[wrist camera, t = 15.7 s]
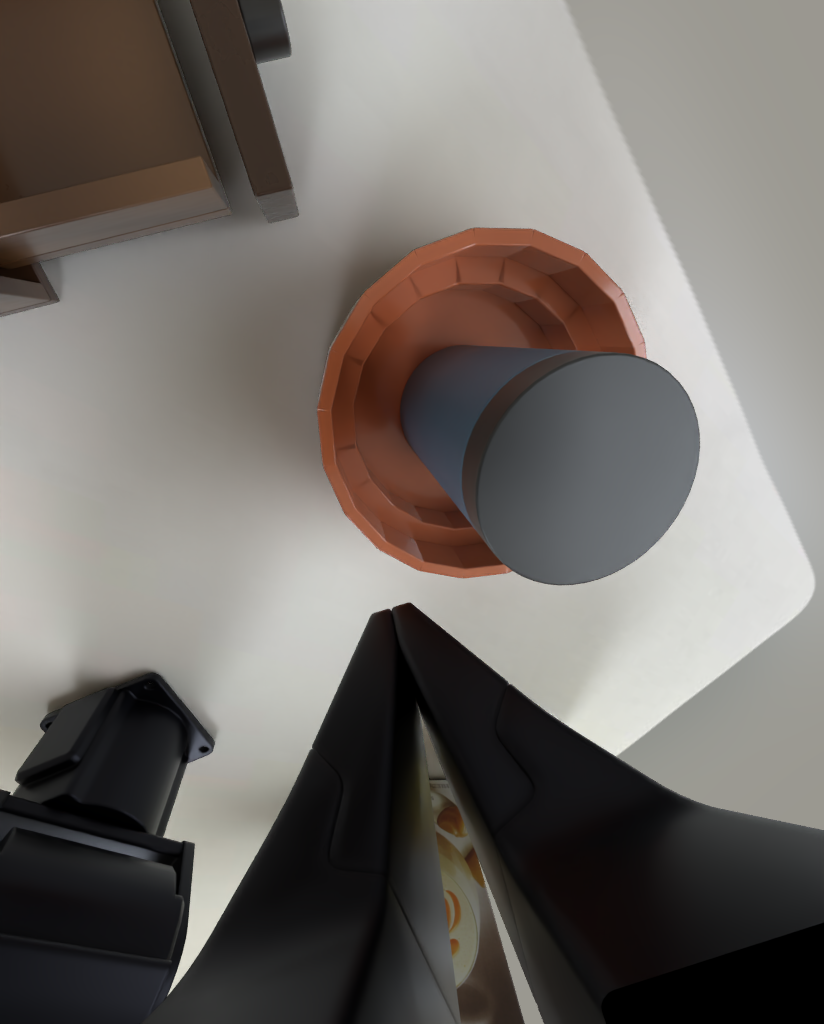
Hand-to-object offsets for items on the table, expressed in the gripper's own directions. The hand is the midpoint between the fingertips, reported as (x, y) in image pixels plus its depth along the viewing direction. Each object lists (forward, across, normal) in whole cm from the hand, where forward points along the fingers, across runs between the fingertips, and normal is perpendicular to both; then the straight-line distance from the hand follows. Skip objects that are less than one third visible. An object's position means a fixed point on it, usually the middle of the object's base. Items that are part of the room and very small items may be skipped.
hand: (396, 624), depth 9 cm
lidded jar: (+12, -5, -1) cm, 14 cm away
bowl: (+13, -5, -1) cm, 14 cm away
